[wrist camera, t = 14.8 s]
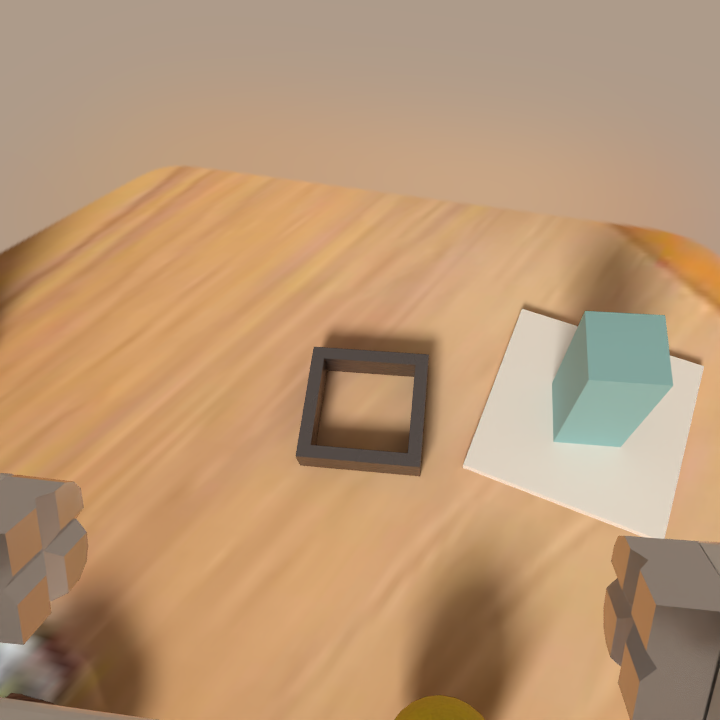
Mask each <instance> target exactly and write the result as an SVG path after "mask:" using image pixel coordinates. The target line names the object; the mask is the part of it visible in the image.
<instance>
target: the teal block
mask: <svg viewBox="0 0 720 720" xmlns="http://www.w3.org/2000/svg"><path fill="white" fill-rule="evenodd" d="M672 387H673V379H672V370H671V362H670V353H669V345H668V336H667V327H666V319H665V315H650V314H632V313H614V312H595V311H585V312H584V314H583V317H582V319H581V321H580V323H579V325H578V328H577V330H576V332H575V334H574V336H573V338H572V341H571V343H570V345H569V347H568V349H567V352H566V354H565V356H564V358H563V360H562V363H561V365H560V367H559V369H558V371H557V373H556V376H555V378H554V380H553V382H552V405H553V442H561V443H573V444H586V445H599V446H612V447H621V446H622V445H623V444H624V442H625V441H626V440H627V439H628V438H629V437H630V435H631V434H632V433H633V432H634V431H635V430H636V429H637V427H638V426H639V425H640V424H641V423H642V422H643V420H644V419H645V418H646V417H647V416H648V415H649V413H650V412H651V411H652V410H653V409H654V408H655V406H656V405H657V404H658V403H659V402H660V401H661V399H662V398H663V397H664V396H665V395H666V394H667V392H668V391H669V390H670V389H671V388H672Z"/></svg>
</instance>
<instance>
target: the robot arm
mask: <svg viewBox="0 0 720 720" xmlns="http://www.w3.org/2000/svg"><path fill="white" fill-rule="evenodd" d="M83 508H84V505H83V499H82V493H81V488H80V487H79V486H78V485H77V484H76V483H75V482H73V481H65V480H56V479H48V478H40V477H31V476H23V475H13V474H8V473H0V642H2V643H12V644H22V645H24V644H25V642H26V641H27V640H28V639H29V638H30V637H31V636H32V634H33V633H34V632H35V631H36V630H37V629H38V628H39V626H40V625H41V624H42V623H43V622H44V621H45V620H46V618H47V617H48V616H49V615H50V614H51V604H50V601H53V600H55V599H57V598H59V597H61V596H63V595H65V594H67V593H69V592H70V590H71V589H72V588H73V587H74V586H75V584H76V583H77V582H78V581H79V579H80V577H81V574H82V572H83V569H84V567H85V564H86V562H87V553H88V539H87V532H86V531H85V529H84V528H83V527H82V526H81V524H80V523H79V522H78V521H77V519H76V518H77V517H78V515H79V514H80V512H81V511H82V509H83ZM611 562H612V565H613V567H614V570H615V573H616V575H617V579H616V580H615V581H614V582H612V583H611V584H610V585H609V586H608V587H607V588H606V595H605V602H604V634H605V640H606V645H607V648H608V651H609V655H610V657H611V658H612V659H613V660H614V661H615V662H616V663H617V664H619V665H620V666H621V670H620V675H619V680H618V684H619V687H620V690H621V693H622V696H623V699H624V702H625V705H626V709H627V712H628V715H629V718H630V720H720V543H719V542H702V541H687V540H673V539H660V538H646V537H632V536H618V538H617V540H616V543H615V545H614V549H613V555H612V560H611ZM0 720H157V719H150V718H143V717H136V716H129V715H122V714H115V713H108V712H101V711H94V710H86V709H79V708H72V707H65V706H58V705H51V704H44V703H37V702H30V701H23V700H16V699H9V698H2V697H0Z"/></svg>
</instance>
